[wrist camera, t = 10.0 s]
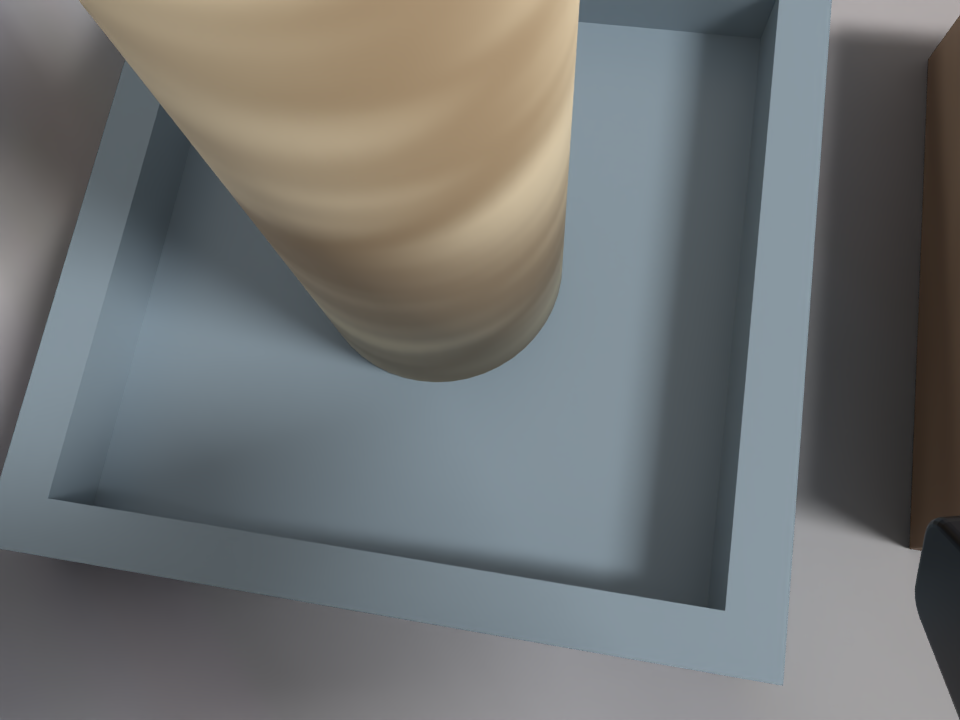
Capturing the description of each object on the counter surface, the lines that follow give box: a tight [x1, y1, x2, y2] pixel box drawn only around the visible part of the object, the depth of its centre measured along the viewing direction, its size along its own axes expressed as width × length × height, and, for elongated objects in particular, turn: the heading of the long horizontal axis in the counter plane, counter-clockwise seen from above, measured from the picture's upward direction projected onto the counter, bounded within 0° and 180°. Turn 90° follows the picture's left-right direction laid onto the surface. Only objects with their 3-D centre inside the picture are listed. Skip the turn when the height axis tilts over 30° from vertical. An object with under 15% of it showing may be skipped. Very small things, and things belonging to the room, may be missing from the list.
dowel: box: [79, 0, 580, 382], centre depth 11 cm, size 5×5×14 cm
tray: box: [0, 0, 832, 686], centre depth 17 cm, size 14×14×2 cm
